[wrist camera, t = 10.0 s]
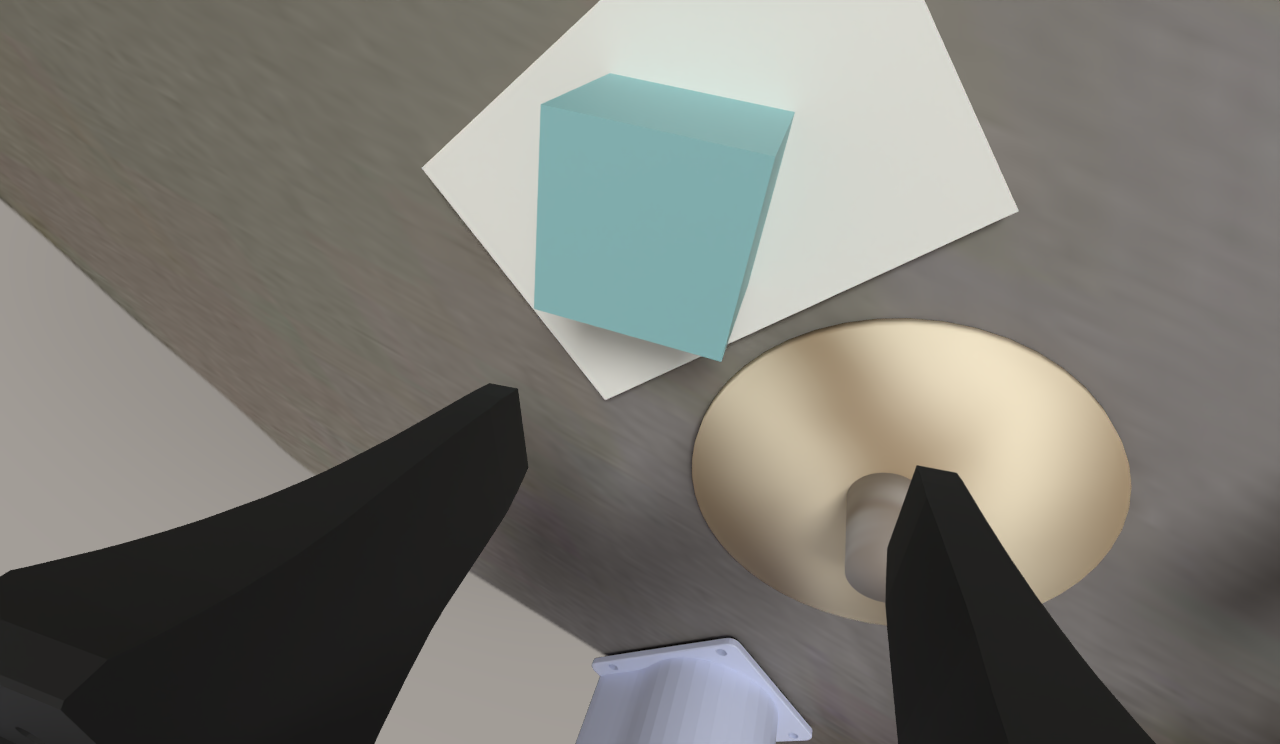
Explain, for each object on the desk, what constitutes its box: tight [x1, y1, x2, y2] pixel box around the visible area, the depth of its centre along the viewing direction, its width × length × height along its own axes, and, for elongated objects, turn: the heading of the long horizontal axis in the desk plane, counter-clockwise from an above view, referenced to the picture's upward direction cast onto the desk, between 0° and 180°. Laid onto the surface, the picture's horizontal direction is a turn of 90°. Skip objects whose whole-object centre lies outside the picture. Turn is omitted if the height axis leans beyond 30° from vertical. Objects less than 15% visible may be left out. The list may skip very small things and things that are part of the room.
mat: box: [422, 0, 1018, 400], centre depth 17 cm, size 14×10×1 cm
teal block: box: [534, 73, 795, 362], centre depth 15 cm, size 5×5×4 cm
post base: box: [692, 318, 1131, 626], centre depth 20 cm, size 14×14×4 cm
